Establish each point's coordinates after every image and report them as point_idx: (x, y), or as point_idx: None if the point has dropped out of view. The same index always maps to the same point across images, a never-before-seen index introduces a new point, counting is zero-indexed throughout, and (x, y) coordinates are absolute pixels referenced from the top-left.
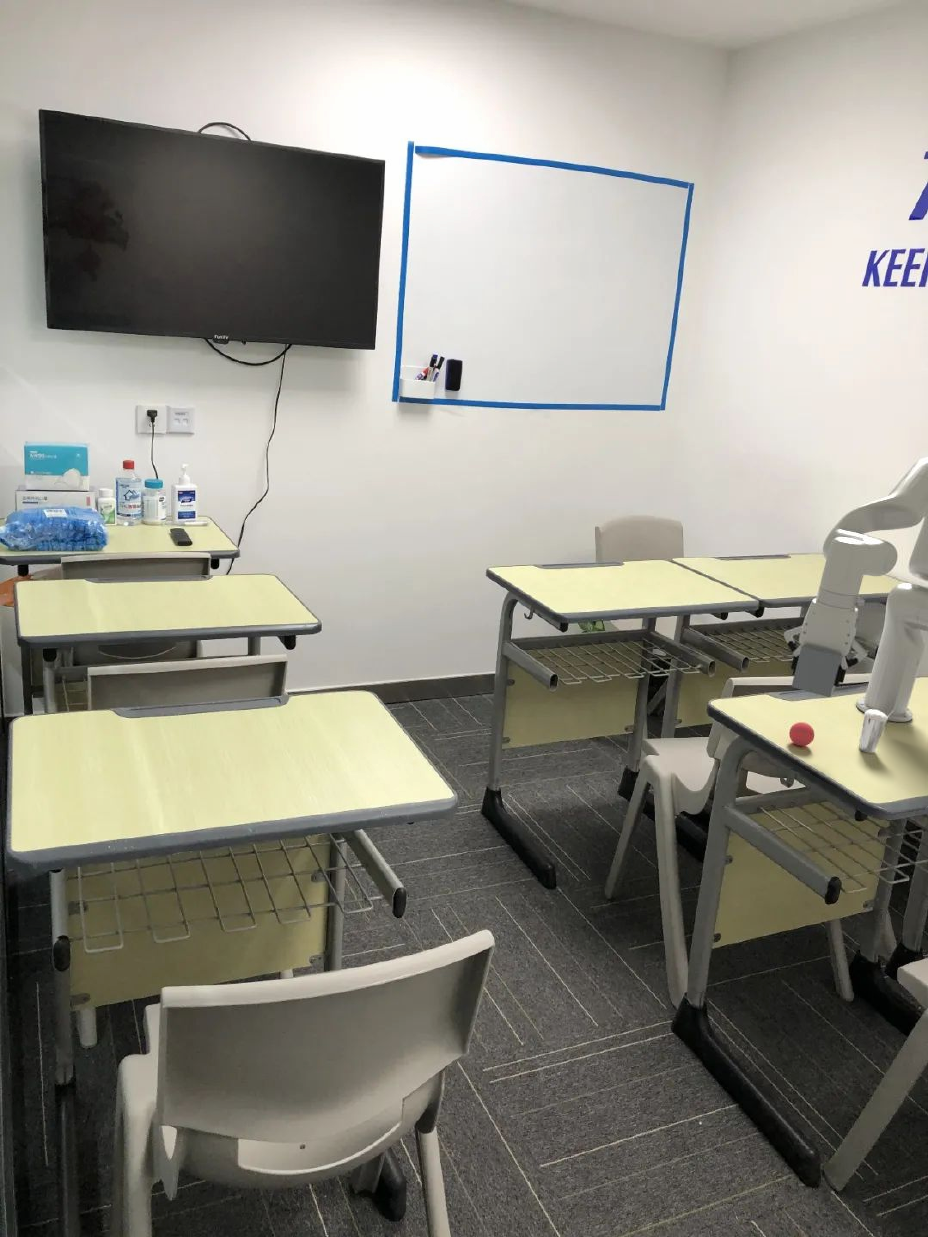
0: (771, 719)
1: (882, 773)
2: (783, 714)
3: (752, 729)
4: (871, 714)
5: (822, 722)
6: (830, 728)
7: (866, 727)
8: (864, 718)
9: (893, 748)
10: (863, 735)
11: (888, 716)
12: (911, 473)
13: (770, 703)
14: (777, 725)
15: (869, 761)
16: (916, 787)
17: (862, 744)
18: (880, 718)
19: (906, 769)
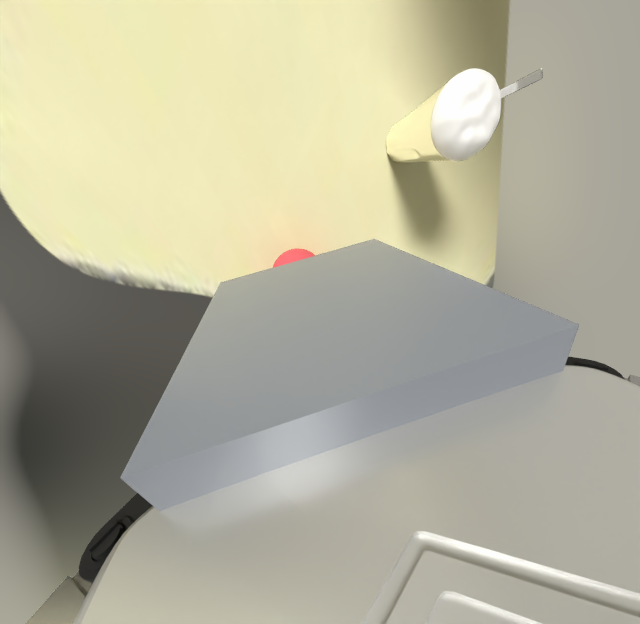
0: (171, 182)
1: (443, 239)
2: (155, 95)
3: (197, 289)
4: (458, 151)
5: (255, 28)
6: (292, 65)
7: (426, 158)
8: (427, 144)
9: (452, 43)
10: (409, 156)
11: (506, 94)
12: None
13: (50, 13)
14: (207, 208)
15: (417, 205)
16: (493, 239)
17: (400, 160)
18: (482, 148)
19: (480, 169)
